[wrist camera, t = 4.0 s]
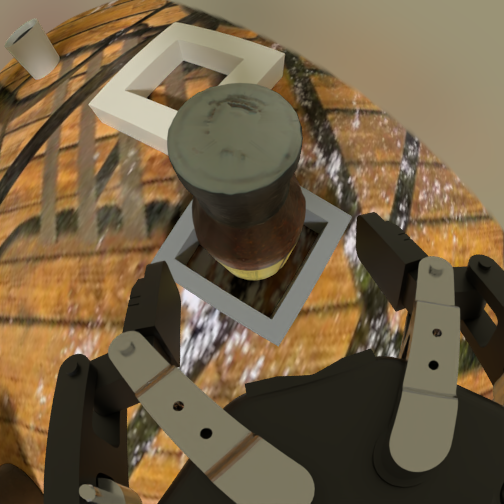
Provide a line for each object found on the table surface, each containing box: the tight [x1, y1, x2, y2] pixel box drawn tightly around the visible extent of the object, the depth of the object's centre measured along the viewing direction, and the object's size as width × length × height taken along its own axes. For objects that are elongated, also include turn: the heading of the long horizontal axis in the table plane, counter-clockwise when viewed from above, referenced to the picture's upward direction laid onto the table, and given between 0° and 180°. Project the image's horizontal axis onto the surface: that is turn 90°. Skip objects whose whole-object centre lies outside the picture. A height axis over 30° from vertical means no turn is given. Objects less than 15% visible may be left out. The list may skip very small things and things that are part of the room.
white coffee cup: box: [5, 18, 60, 79], centre depth 29 cm, size 7×7×10 cm
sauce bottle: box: [167, 83, 306, 280], centre depth 18 cm, size 7×6×20 cm
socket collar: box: [88, 22, 285, 155], centre depth 29 cm, size 16×16×4 cm
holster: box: [151, 187, 352, 346], centre depth 26 cm, size 12×12×4 cm
